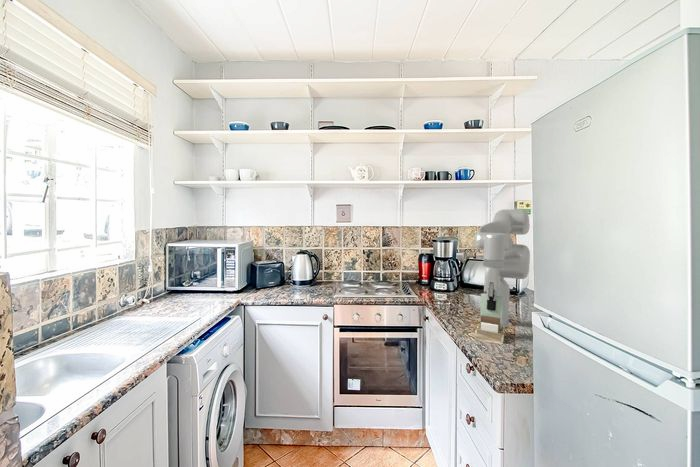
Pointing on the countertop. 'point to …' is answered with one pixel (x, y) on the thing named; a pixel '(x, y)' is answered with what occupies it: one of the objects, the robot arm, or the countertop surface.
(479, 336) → the rack
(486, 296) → the green panel
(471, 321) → the shard
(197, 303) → the countertop surface
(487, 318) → the walnut offcut
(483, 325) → the white offcut
